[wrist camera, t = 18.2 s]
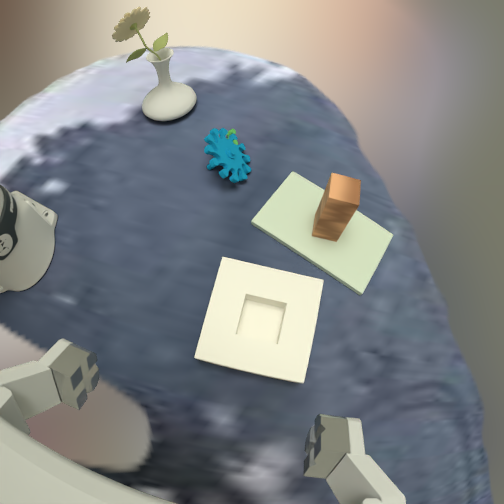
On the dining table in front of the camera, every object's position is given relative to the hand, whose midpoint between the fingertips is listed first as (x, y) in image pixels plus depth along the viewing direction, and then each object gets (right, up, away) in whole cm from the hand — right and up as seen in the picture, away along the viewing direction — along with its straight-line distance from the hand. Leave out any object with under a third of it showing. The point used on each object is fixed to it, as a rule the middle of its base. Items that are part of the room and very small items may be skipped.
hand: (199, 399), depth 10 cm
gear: (-2, +20, +45) cm, 49 cm away
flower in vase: (-16, +35, +50) cm, 63 cm away
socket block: (+3, -5, +34) cm, 35 cm away
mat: (+13, +8, +40) cm, 43 cm away
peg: (+13, +9, +39) cm, 42 cm away
